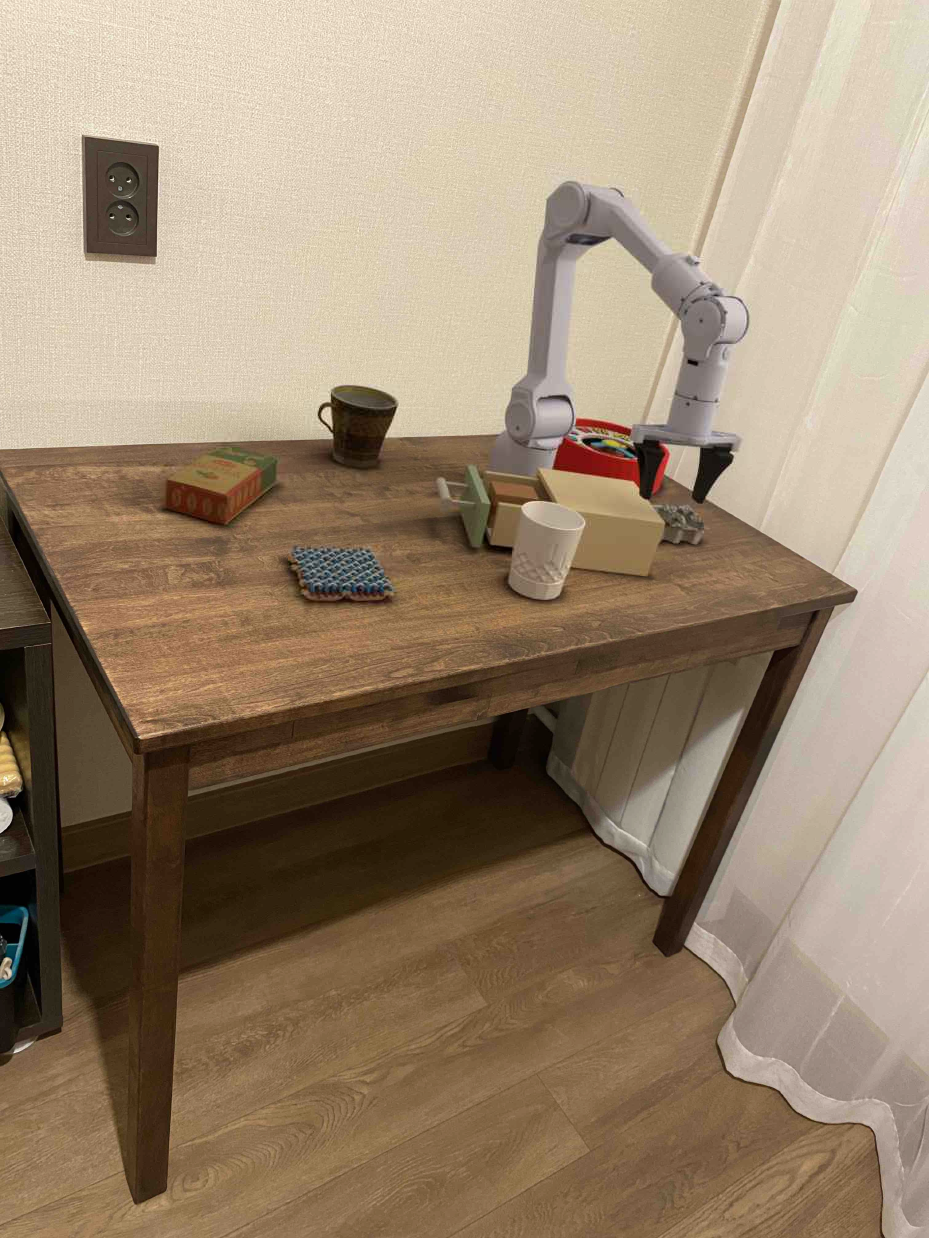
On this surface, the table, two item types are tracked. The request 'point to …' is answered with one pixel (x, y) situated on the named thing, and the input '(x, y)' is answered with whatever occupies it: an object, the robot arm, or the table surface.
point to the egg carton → (680, 523)
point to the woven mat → (340, 574)
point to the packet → (508, 496)
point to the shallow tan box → (607, 521)
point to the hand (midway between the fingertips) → (670, 499)
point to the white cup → (544, 549)
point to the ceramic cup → (359, 423)
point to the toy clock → (603, 452)
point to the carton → (221, 483)
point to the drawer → (488, 505)
